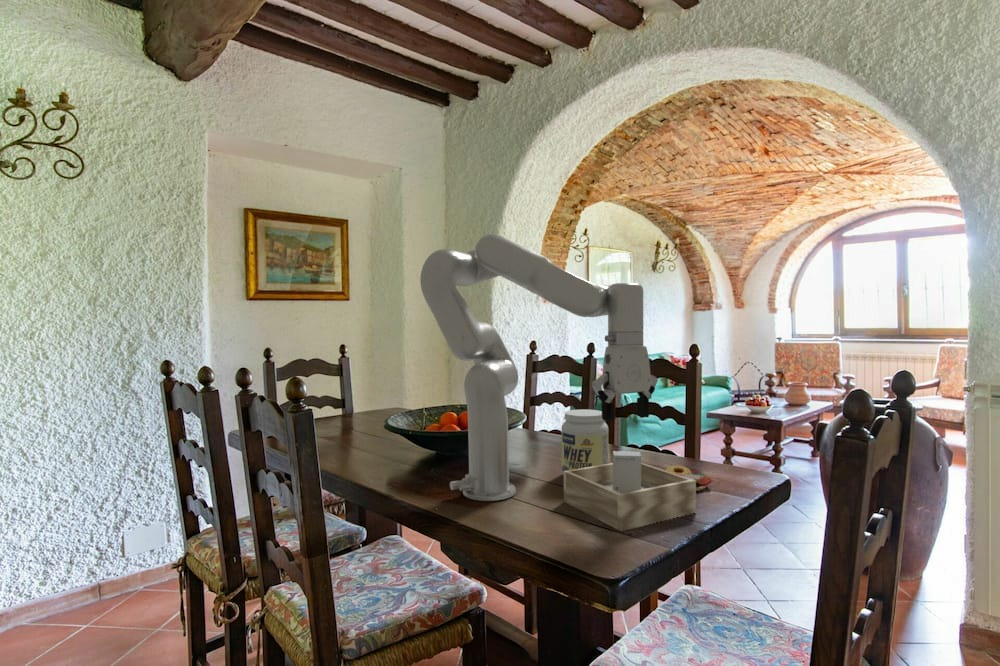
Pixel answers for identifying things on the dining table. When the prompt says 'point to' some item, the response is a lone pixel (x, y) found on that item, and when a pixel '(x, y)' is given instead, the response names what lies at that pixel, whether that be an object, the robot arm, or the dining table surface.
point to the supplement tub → (584, 439)
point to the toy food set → (691, 476)
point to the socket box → (630, 496)
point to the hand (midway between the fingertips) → (625, 418)
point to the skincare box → (626, 471)
